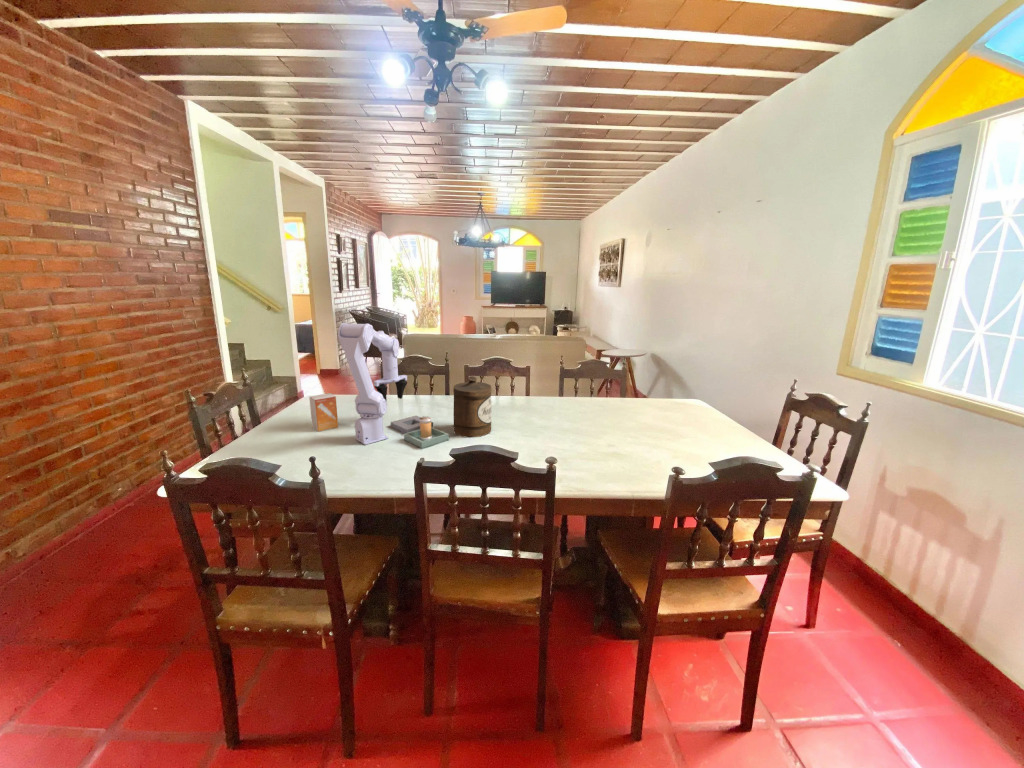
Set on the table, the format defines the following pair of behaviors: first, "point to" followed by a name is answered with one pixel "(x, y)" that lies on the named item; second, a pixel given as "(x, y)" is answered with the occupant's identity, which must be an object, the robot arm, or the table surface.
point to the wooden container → (472, 408)
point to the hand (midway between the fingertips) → (392, 400)
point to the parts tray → (436, 439)
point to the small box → (323, 412)
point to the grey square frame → (407, 424)
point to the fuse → (425, 428)
